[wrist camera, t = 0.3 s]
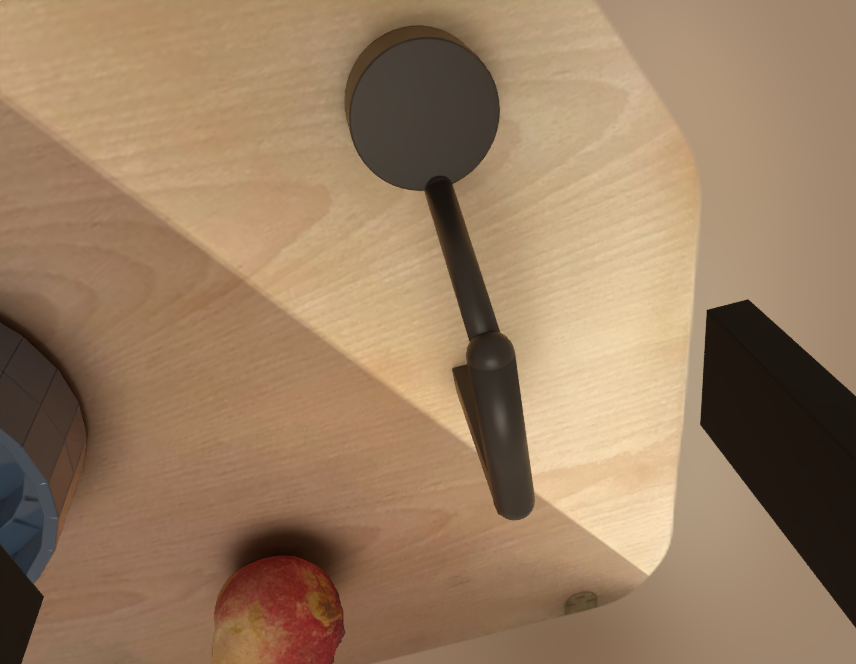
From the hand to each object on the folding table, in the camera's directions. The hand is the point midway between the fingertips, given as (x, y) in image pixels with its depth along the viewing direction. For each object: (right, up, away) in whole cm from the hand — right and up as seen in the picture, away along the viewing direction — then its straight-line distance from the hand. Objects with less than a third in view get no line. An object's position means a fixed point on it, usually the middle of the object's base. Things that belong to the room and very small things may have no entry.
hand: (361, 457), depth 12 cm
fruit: (-8, -12, +31) cm, 34 cm away
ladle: (+2, +7, +20) cm, 21 cm away
